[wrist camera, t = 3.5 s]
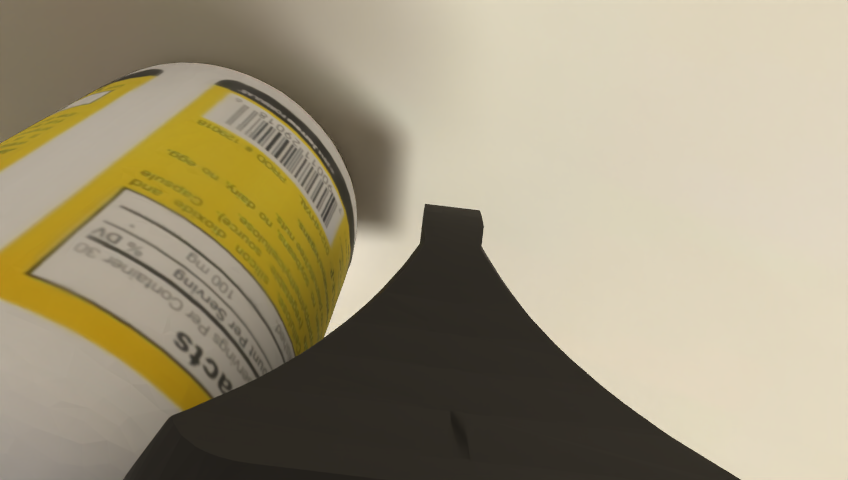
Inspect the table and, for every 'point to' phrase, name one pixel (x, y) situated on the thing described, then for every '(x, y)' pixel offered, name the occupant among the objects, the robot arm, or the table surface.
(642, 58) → the table surface
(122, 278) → the supplement bottle
